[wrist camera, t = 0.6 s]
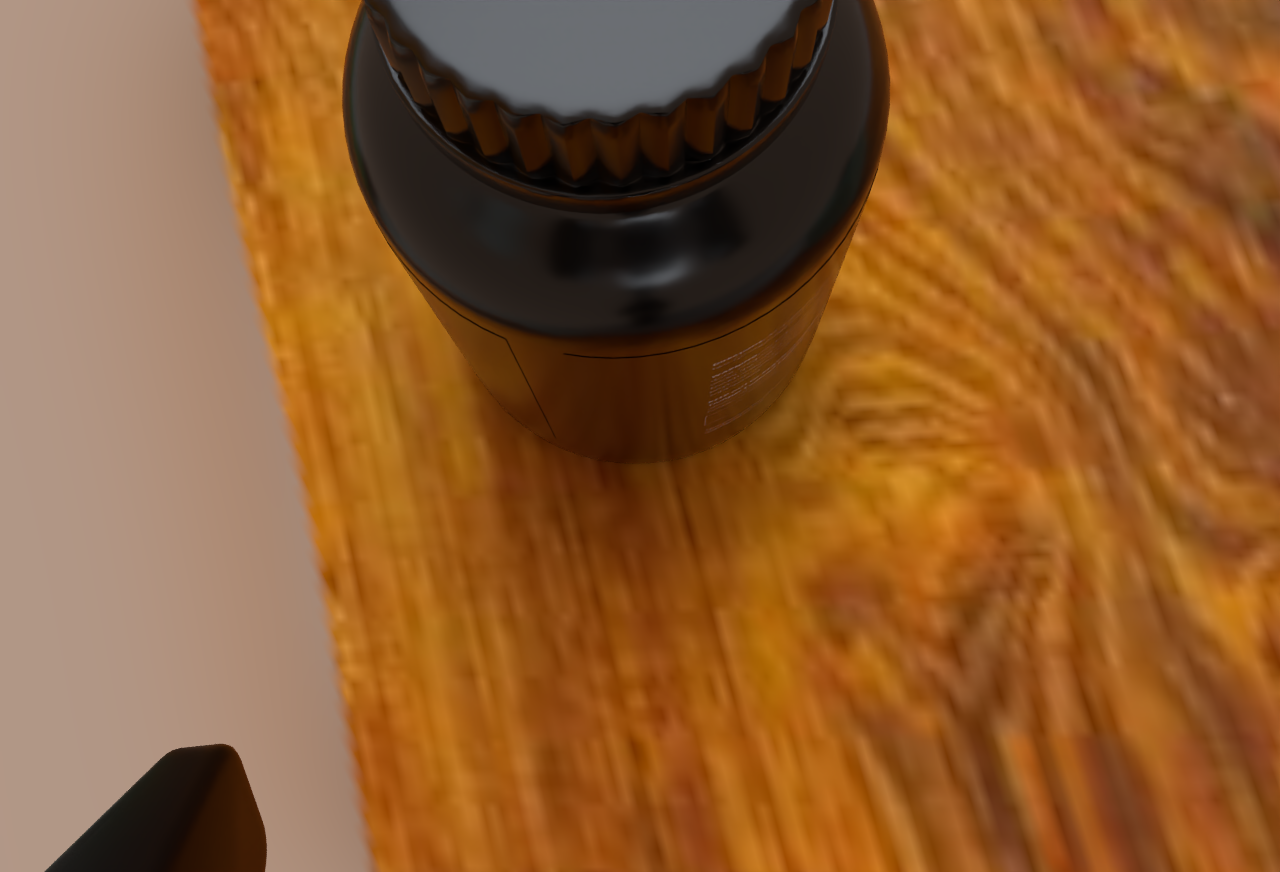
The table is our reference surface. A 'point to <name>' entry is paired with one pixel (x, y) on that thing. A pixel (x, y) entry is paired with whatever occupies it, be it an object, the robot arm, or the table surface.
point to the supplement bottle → (621, 196)
